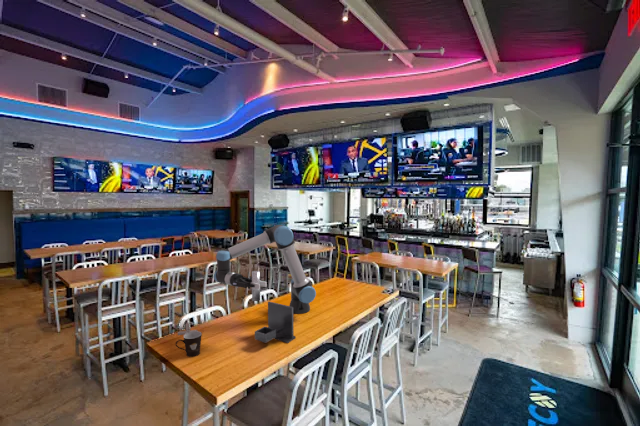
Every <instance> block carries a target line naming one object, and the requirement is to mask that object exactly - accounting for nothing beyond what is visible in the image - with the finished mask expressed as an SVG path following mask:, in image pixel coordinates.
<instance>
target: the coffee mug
mask: <svg viewBox="0 0 640 426" xmlns="http://www.w3.org/2000/svg"><path fill="white" fill-rule="evenodd" d="M202 337H203V335H202V332H201V331H198V330H197V331H193V332H189V333H186V334H185V335H183V339H178V340H176V342H175V347H176V348H177V349H178V350H182V351H184V352H185V355H186V357H188V358H194V357H198V356H199V355H200V353H201V346H202V345H201V344H202ZM178 342H183V344H184V347H180V346H179V345H177V344H178Z"/></svg>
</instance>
